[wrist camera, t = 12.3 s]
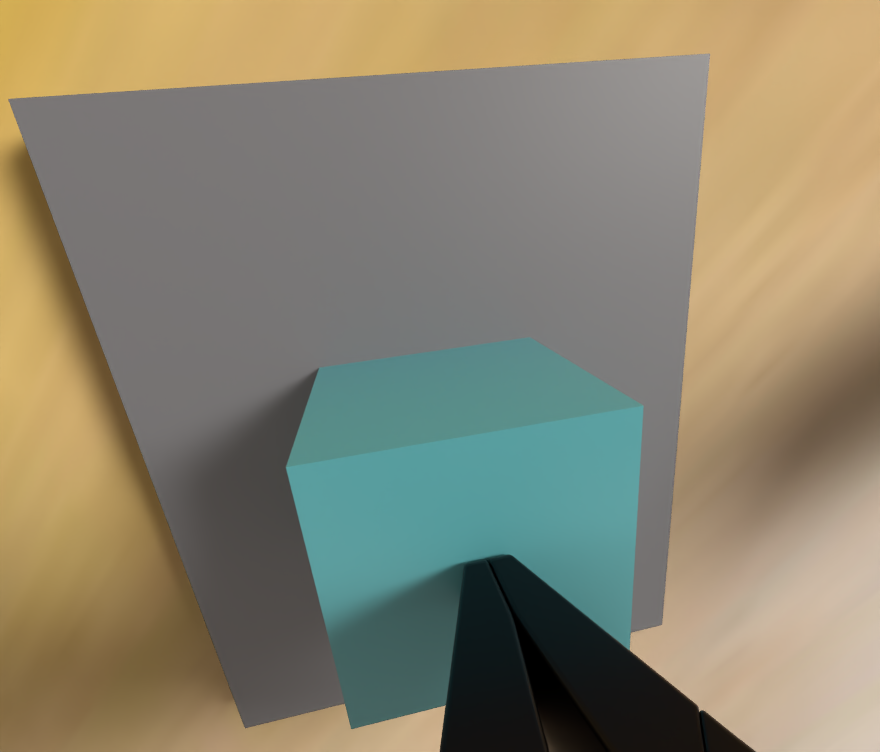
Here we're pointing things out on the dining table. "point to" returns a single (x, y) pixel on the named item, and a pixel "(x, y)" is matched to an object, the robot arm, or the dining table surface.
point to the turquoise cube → (458, 503)
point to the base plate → (365, 286)
